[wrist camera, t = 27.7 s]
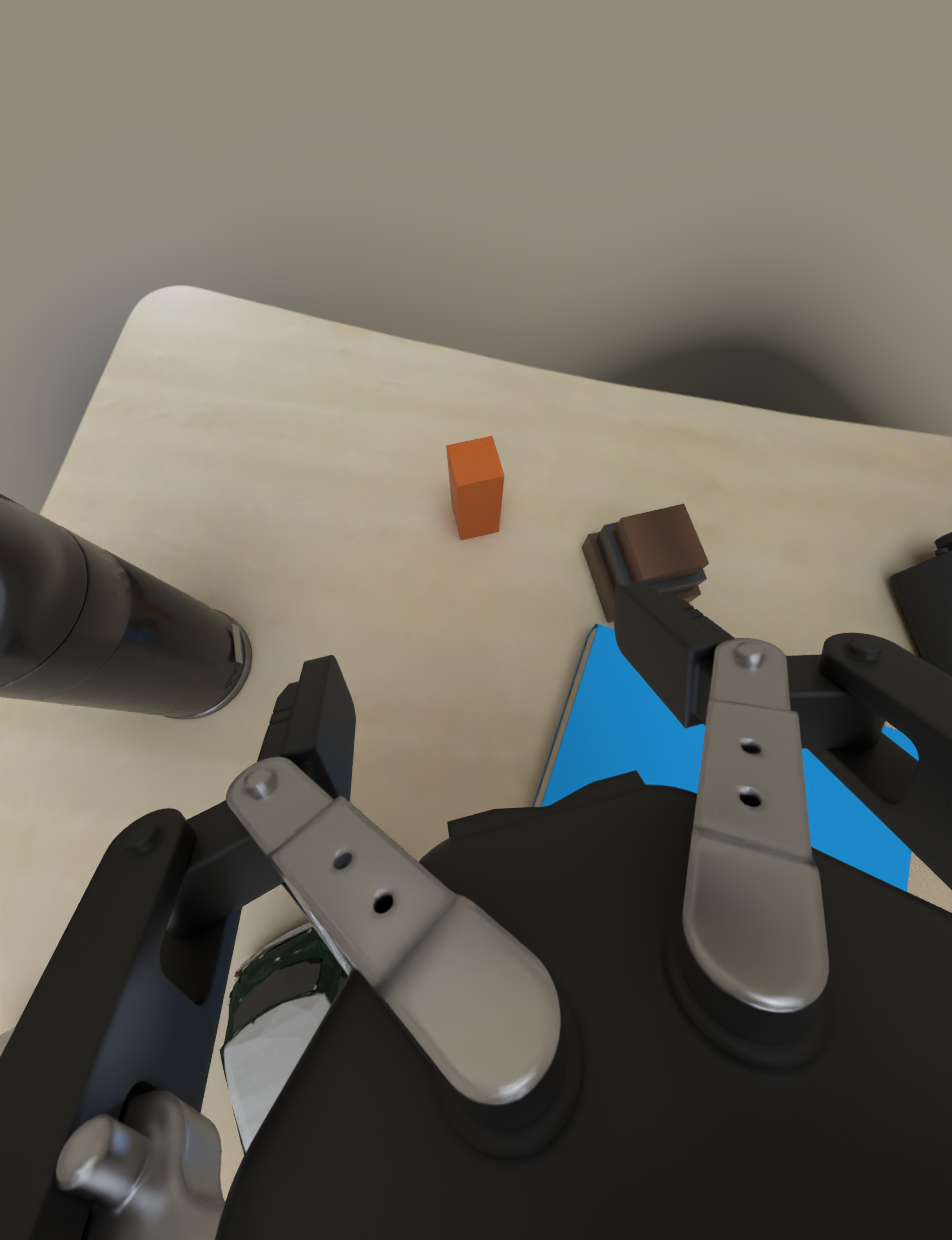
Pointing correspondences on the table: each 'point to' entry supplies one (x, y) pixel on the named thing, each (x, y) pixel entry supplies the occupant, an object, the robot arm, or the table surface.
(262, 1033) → the miniature car
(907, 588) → the projector
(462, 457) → the bar
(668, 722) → the book
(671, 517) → the brown stepped pyramid
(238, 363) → the table surface
